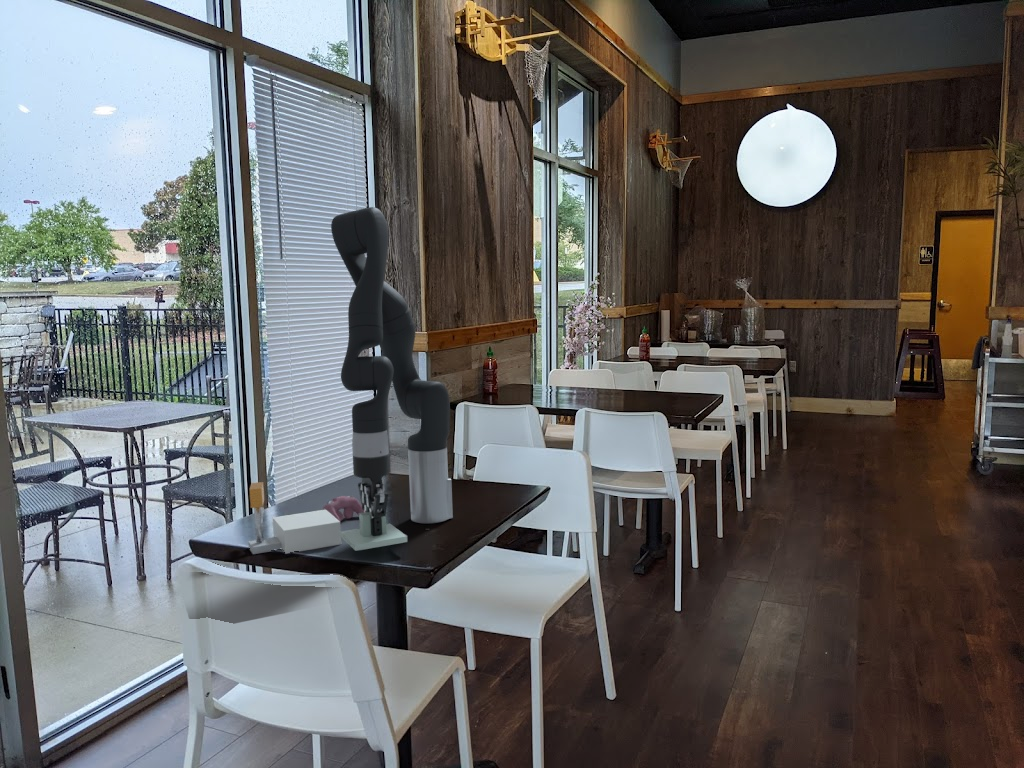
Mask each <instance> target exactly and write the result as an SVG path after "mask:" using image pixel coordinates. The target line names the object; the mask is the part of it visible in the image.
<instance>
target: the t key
mask: <svg viewBox="0 0 1024 768" xmlns="http://www.w3.org/2000/svg"><path fill="white" fill-rule="evenodd" d="M249 502H250V508H251V509H253V513H254V516H253V517H254V527H255V528H254V529H255V540H256V542H263V541H264V539H265V537H264V536H265V535H264V525H263V523H264V522H263V519H264V514H265V507H264V503H265V489H264V482H263V481H261V482H260V481H259V482H251V484H250V486H249Z"/></svg>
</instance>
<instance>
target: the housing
mask: <svg viewBox="0 0 1024 768" xmlns="http://www.w3.org/2000/svg"><path fill="white" fill-rule="evenodd" d="M341 528H342V527H341V521H339V520H338V519H336V518H335V517H334V516H333V515H332V514H331V513H329V512H328V511H327V510H323V509H320V510H319V509H318V510H313V511H307V512H301V513H300V512H299V513H293V514H287V515H281V516H273V517H272V531H273V532H272V533H273V537H267V538H264V541H263V542H256V539H254V540H253V539H252V540H248V548H249V547H250V549H249V551H250V552H251V554H252V555H256V554H262V553H268V552H272V551H271V550H274V549H280V548H282V549H283V550H284V551H283V550H282V549H281V550H282V551H283V553H284V552H285V553H284V554H285V555H287V554H291V553H290V552H293V553H295V552H294V551H299V552H304V551H310V550H317V549H321V548H327V547H333V546H339V545H342V538H341V531H342V530H341Z"/></svg>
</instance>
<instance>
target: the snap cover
mask: <svg viewBox="0 0 1024 768" xmlns="http://www.w3.org/2000/svg"><path fill="white" fill-rule="evenodd" d="M377 511H379V509H378V510H377ZM358 516H359V518H358V519H359V528H353V529H349V530H341V540H342V539H343V541H344V542H345V543H347V545H348V546H350V547H351V548H352V549H353V550H354V551H363V550H368V549H374V548H380V547H386V546H391V545H397V544H403V543H408V535H407V534H405V533H403V532H402V531H401V530H399V529H398V528H396V526H394V525H393V524H391V523H387V515H386V516H383V517H381V518H382V535H379V536H372V535H371V518H370V512H365V513H359V515H358Z"/></svg>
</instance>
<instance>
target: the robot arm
mask: <svg viewBox="0 0 1024 768" xmlns="http://www.w3.org/2000/svg"><path fill="white" fill-rule="evenodd" d="M330 227H331V230H330V231H331V236H332V240H333V242H334V245H335V247H336V249H337V251H338V253H339V256H340V258H341V260H342V261H343V263H344V265H345V268H346V269H347V271H348V273H349V276H350V277H351V279H352V281H353V283H354V285H355V288H354V290H353V292H352V295H351V297H350V300H349V304H348V311H347V312H348V313H347V314H348V315H347V316H348V317H347V318H348V319H347V320H348V341H347V348H346V352H345V357H344V360H343V362H342V366H341V371H340V379H341V380H340V381H341V383H342V385H343V387H344V388H345V390H347V391H349V392H366V391H376V394H375V396H374V397H373V398H371V399H369V400H365V401H361V402H357V403H355V404H354V405H353V406H352V409H351V420H352V422H351V423H352V424H351V425H352V438H351V439H352V440H351V442H352V443H351V444H352V445H351V449H352V467H353V469H352V470H353V475H354V476H355V477H356V478H361V482H358V483H357V487H358V492H359V499H360V504H361V505H362V509H363V510H364V513H365V512H370V518H371V535H372V536H379V535H382V518H381V517H383V516H386V517H387V513H386V512H387V506H388V499H389V494H388V492H385V490H386V489H385V485H384V483H383V480H382V479H383V478H384V476H385V477H386V476H388V475H390V472H391V463H390V462H391V461H390V442H389V441H390V440H389V436H388V434H389V433H388V422H387V421H388V419H387V416H388V415H387V410H388V398H389V395H390V389H391V387H392V386H393V389H394V393H395V397H396V400H397V402H398V405H399V407H400V410H401V411H402V413H403V414H404V416H406V417H408V418H411V419H416V420H420V426H419V427H420V428H419V431H418V432H416V433H413V434H411V435H409V436H408V438H407V456H408V458H407V459H408V476H409V477H408V478H409V480H408V481H409V499H410V500H409V503H410V520H411V522H414V523H419V524H436V523H441V522H445V521H447V520H449V519H453V518H454V515H453V513H454V512H453V511H454V510H453V491H452V490H453V489H452V488H453V486H452V479H451V478H449V472H448V470H449V468H448V467H449V466H448V464H449V463H448V438H449V436H450V428H451V427H450V423H451V422H450V418H451V417H450V415H451V412H450V410H451V401H450V394H449V390H448V388H447V386H446V385H444V384H443V383H442V382H440V381H435V380H434V381H433V380H422V379H421V378H420V376H419V374H418V371H417V369H416V367H415V363H414V359H413V351H414V346H415V341H416V340H415V339H416V327H415V322H414V319H413V316H412V313H411V311H410V309H409V305H408V304H407V302H406V299H405V298H404V296H402V294H400V293H399V292H398V291H397V290H396V289H395V288H394V287H392V286H391V285H390V284H389V283H388V282H386V281H385V277H386V268H387V259H388V249H389V239H390V237H389V228H388V227H389V226H388V222H387V219H386V216H385V215H384V214H383V212H382V211H381V210H380V208H377V207H374V206H370V207H365V208H361V209H356V210H352V211H349V212H344V213H341V214H338V215H336V216H334V217H333V218H332V219H331V224H330ZM365 254H366V255H365ZM378 346H379V347H380V351H381V352H382V355H373V356H371V355H370V356H360V355H361V353H362V352H363V351H365V350H368V349H371V348H372V349H373V348H375V347H378ZM378 510H379V511H378Z"/></svg>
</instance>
